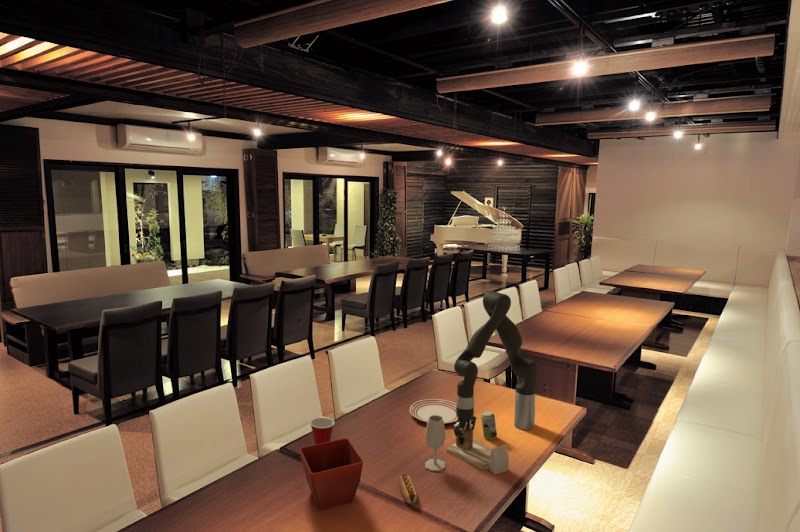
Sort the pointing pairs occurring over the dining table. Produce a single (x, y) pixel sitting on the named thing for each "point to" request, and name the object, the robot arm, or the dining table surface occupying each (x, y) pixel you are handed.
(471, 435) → the block
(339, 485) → the plant pot
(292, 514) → the dining table surface
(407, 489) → the food
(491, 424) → the beverage can
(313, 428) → the plastic cup
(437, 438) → the wineglass
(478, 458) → the board
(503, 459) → the tea bag
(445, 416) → the dinner plate
